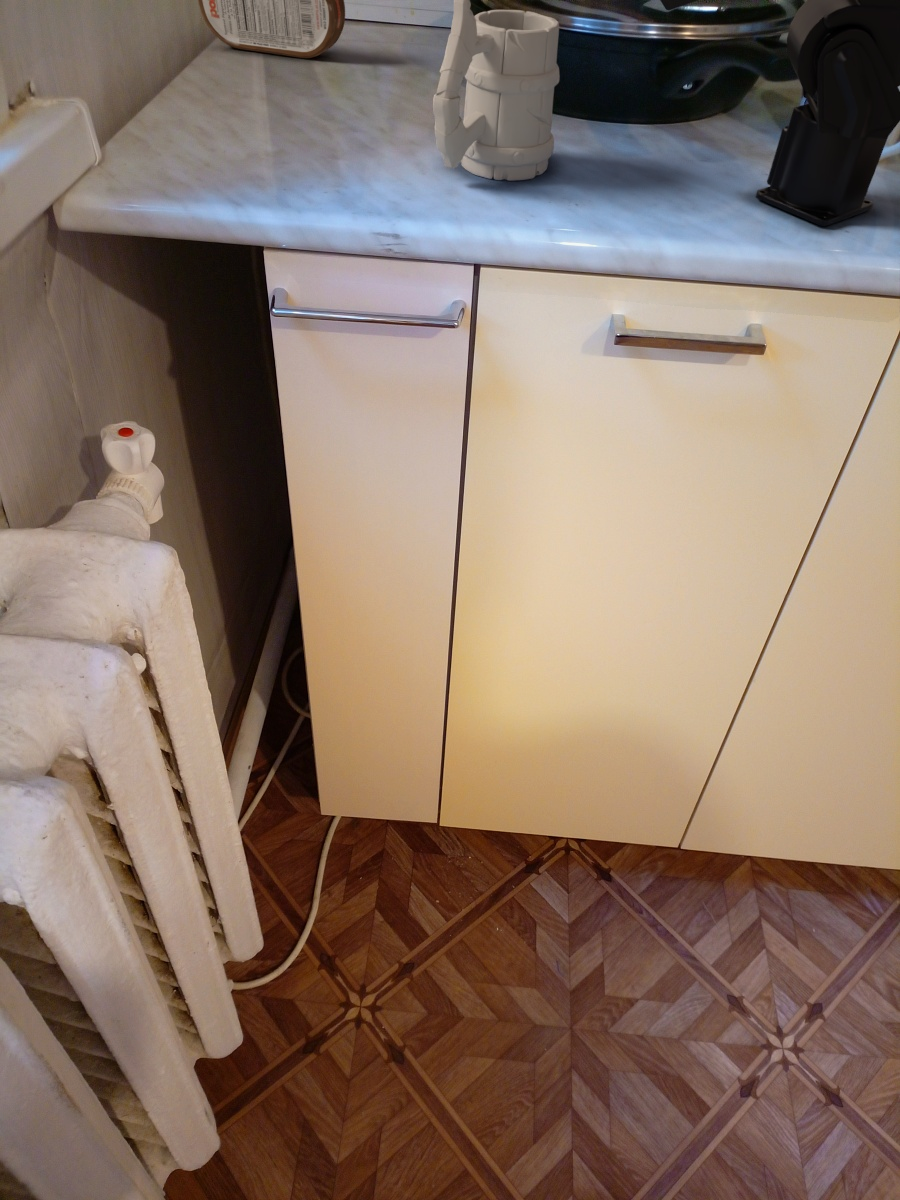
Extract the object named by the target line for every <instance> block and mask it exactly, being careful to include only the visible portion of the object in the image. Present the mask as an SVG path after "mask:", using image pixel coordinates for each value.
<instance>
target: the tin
mask: <svg viewBox="0 0 900 1200" xmlns="http://www.w3.org/2000/svg"><path fill="white" fill-rule="evenodd" d="M197 3H198V7H199V10H200V14H201V15H202V18H203V20H204V22H205V24H206V25H207V27H208V28H209V30H210V31H211V32H212V34H214V35H215V36H216V38H217V39H219V41H221V42H222V43H224V44H226V45H227V46H229V47H232V48H234V49H238V50H245V51H252V52H257V53H267V54H273V55H279V56H280V55H281V56H287V57H294V58H300V59H311V58H315V57H318V56H319V55H323V53H324V52H326V51H328V50H329V49H331V48H332V47H333V46H334V45H336V43H337V42H338V40H339V39H340V37H341V35H342V33H343V30H344V27H345V21H346V4H345V0H197Z"/></svg>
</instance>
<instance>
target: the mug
mask: <svg viewBox="0 0 900 1200" xmlns="http://www.w3.org/2000/svg"><path fill="white" fill-rule="evenodd" d="M471 5H472V4H471V0H453V13H452V14H453V16H452V21H451V28H450V33H449V34H448V38H447V43H446V48H445V51H444V57H443V60H442V64H441V67H440V68H439V73H440V77H439V80H438V85H437V89H436V93H434V95H433V99H432V110H433V118H434V121H435V122H434V136H435V143H436V148H437V150H438V151H440V153H441V157H442V161H443V164H444V167H445V168H447V169H457V167H458V166H459V164H461V167H462V168H463V169H465V170H466V171H467V172H468V173H470V174H472V175H475V176H477V177H482V178H485V179H489V180H491V179H494V180H495V181H502V180H507V181H525V180H532V179H534V178H535V177H536V176H540V175H542V174H543V173H545V171H546V170H547V169H548V165H549V159H550V158H551V156H552V155H553V152H554V149H555V138H554V135H553V132H552V126H553V125H552V124H553V107H554V96H555V95H554V94H555V87H556V86H557V85H558V84H559V83H560V67H559V65H558V63H557V59H558V46H559V35H560V24H559V23H560V22H559V21H557V19H556V18H554V17H551V16H547V15H543V14H540V13H537V12H534V11H530V10H529V11H528V10H527V11H525V10H521V9H490V10H487V11H482V12H479V13H477V14H475V15H474V13H473V11H472V9H471ZM464 78H465V80H466V86H465V87H466V88H465V98H464V110H463V119H462V117H461V111H460V110H461V106H460V105H461V95H460V91H461V87H462V84H463V81H464Z"/></svg>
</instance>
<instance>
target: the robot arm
mask: <svg viewBox="0 0 900 1200" xmlns="http://www.w3.org/2000/svg"><path fill="white" fill-rule="evenodd" d="M659 1H660V3H661V5H663V8H664V9H665V10H666V11H672V10H675V9H678V8H680V7H683V6H685V5H689V4H692V3H694V2H698V0H659ZM786 52H787V55H788V59H789V61H790V64H791V66H792V68H793V70H794V73H795V74H796V77H797V79H798V81H799V84H800V86H801V88H802V92H801V93H802V97H803V98H804V99H806V101H807V103H806V104H801V105H797V106H794V107H793V110H792V113H791V116H790V119H789V123H788V125H786V126H784V127H783V128H782V129H781V132H780V136H779V140H778V142H777V146H776V149H775V153H774V155H773V159H772V163H771V166H770V170H769V174H768V176H767V180H766V182H767V185H768V186H766V187H763V188H760V189H757V191H756V192H755V193H756V194H755V198H756V199H757V200H760V201H762V202H764V203H766V204H769V205H771V206H773V207H776V208H778V209H780V210H783V211H784V212H787V213H790V214H792V215H795V216H797V217H799V218H801V219H803V220H806V221H809V222H811V223H813V224H815V225H818V226H822V227H825V226H829V225H832V224H835V223H838V222H841V221H844V220H846V219H849V218H852V217H855V216H858V215H860V214H863V213H865V212H868V211H871V210H872V208H873V206H874V202H873V201H871V200H870V199H867V198H866V196H867V194H868V191H869V189H870V185H871V183H872V180H873V178H874V175H875V173H876V170H877V167H878V165H879V162H880V159H881V157H882V154H883V151H884V150H885V149H884V148H885V146H886V145H887V141H888V138H889V136H890V135H891V134H892V132H893V131H894V130H895V128H897V126H898V124H899V123H900V89H899V87H900V0H806V1H805V2H803V4H802V5H801V6H800V7H799V8H798V10H797V11H796V13H795V15H794V16H793V18H792V20H791V22H790V25H789V29H788V31H787V37H786Z"/></svg>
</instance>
